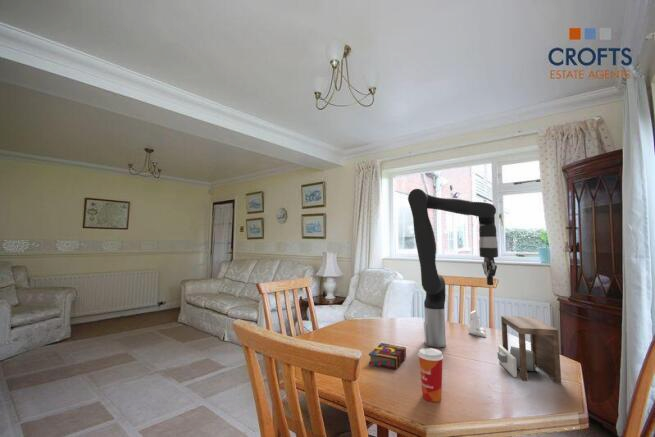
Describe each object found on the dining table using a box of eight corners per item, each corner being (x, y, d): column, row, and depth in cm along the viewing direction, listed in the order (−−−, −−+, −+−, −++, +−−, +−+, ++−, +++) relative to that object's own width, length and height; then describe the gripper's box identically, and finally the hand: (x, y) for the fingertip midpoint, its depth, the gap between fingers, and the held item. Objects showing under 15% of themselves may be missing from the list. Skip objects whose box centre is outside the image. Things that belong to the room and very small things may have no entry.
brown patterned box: (406, 357, 128) (406, 345, 128) (395, 372, 114) (395, 358, 114) (381, 353, 133) (381, 341, 134) (367, 366, 119) (367, 353, 120)
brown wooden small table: (522, 380, 106) (520, 328, 107) (503, 360, 123) (501, 315, 125) (561, 383, 103) (558, 329, 105) (535, 363, 121) (533, 317, 123)
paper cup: (415, 392, 98) (414, 347, 99) (438, 391, 99) (436, 346, 100) (425, 405, 90) (423, 356, 91) (449, 403, 91) (448, 355, 92)
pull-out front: (507, 376, 109) (506, 357, 109) (493, 361, 122) (492, 345, 123) (517, 377, 108) (516, 358, 108) (502, 361, 122) (501, 345, 122)
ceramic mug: (536, 375, 110) (534, 353, 111) (509, 369, 115) (509, 348, 116) (536, 365, 119) (534, 345, 120) (511, 361, 124) (510, 341, 124)
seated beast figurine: (486, 337, 153) (485, 313, 154) (467, 335, 157) (466, 312, 158) (485, 332, 162) (484, 309, 163) (467, 330, 166) (467, 308, 167)
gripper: (475, 246, 146) (477, 282, 145) (484, 247, 133) (485, 286, 132) (492, 246, 145) (494, 283, 143) (502, 247, 132) (504, 287, 130)
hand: (490, 284), depth 137 cm, fingers closed
